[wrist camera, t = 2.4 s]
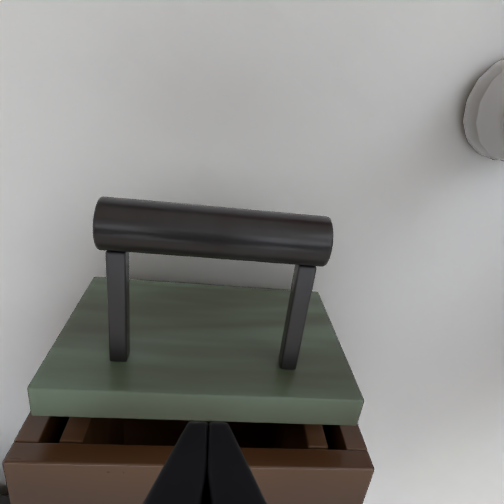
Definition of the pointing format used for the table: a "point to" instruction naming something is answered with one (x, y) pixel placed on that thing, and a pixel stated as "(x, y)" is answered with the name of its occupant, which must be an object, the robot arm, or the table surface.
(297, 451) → the cabinet
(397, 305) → the table surface
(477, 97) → the rook chess piece
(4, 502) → the leaning round-cornered charcoal block
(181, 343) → the drawer
